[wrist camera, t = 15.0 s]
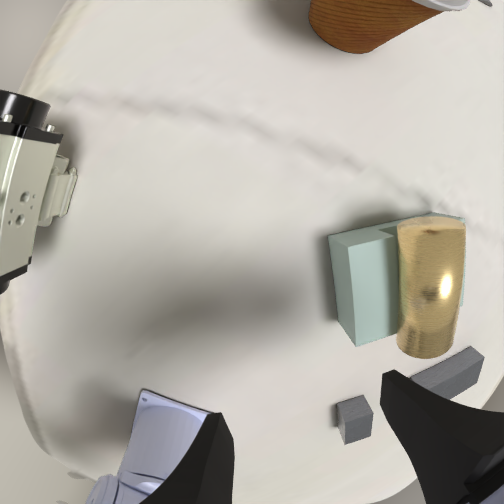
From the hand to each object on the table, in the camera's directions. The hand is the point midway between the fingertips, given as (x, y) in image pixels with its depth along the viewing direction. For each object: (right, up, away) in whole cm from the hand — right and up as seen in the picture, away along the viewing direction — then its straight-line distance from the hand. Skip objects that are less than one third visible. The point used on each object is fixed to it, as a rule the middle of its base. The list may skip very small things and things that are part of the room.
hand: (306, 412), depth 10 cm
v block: (+9, +6, +10) cm, 14 cm away
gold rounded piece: (+9, +5, +4) cm, 11 cm away
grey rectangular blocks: (+15, -8, +13) cm, 21 cm away
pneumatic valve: (-17, +12, +8) cm, 22 cm away
